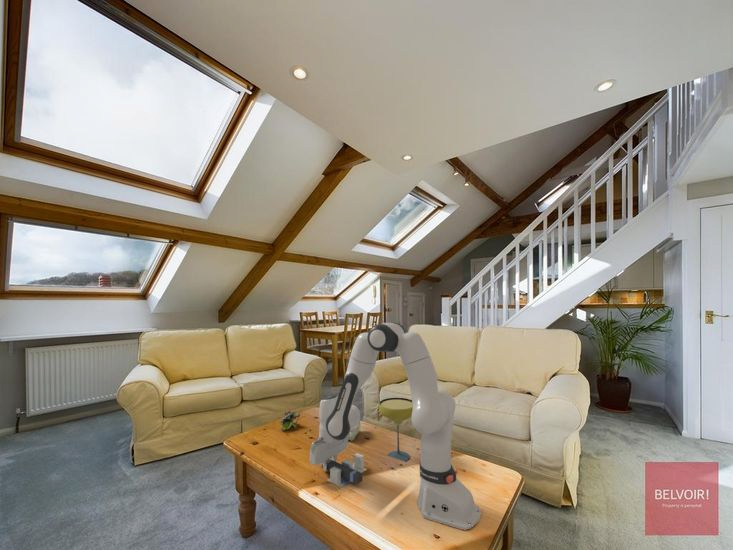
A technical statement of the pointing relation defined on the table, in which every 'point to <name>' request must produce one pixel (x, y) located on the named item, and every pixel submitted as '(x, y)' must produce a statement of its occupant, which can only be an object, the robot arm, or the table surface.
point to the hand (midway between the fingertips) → (329, 467)
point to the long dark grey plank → (346, 471)
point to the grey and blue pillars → (356, 465)
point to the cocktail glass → (397, 419)
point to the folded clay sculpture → (354, 432)
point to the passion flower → (289, 420)
